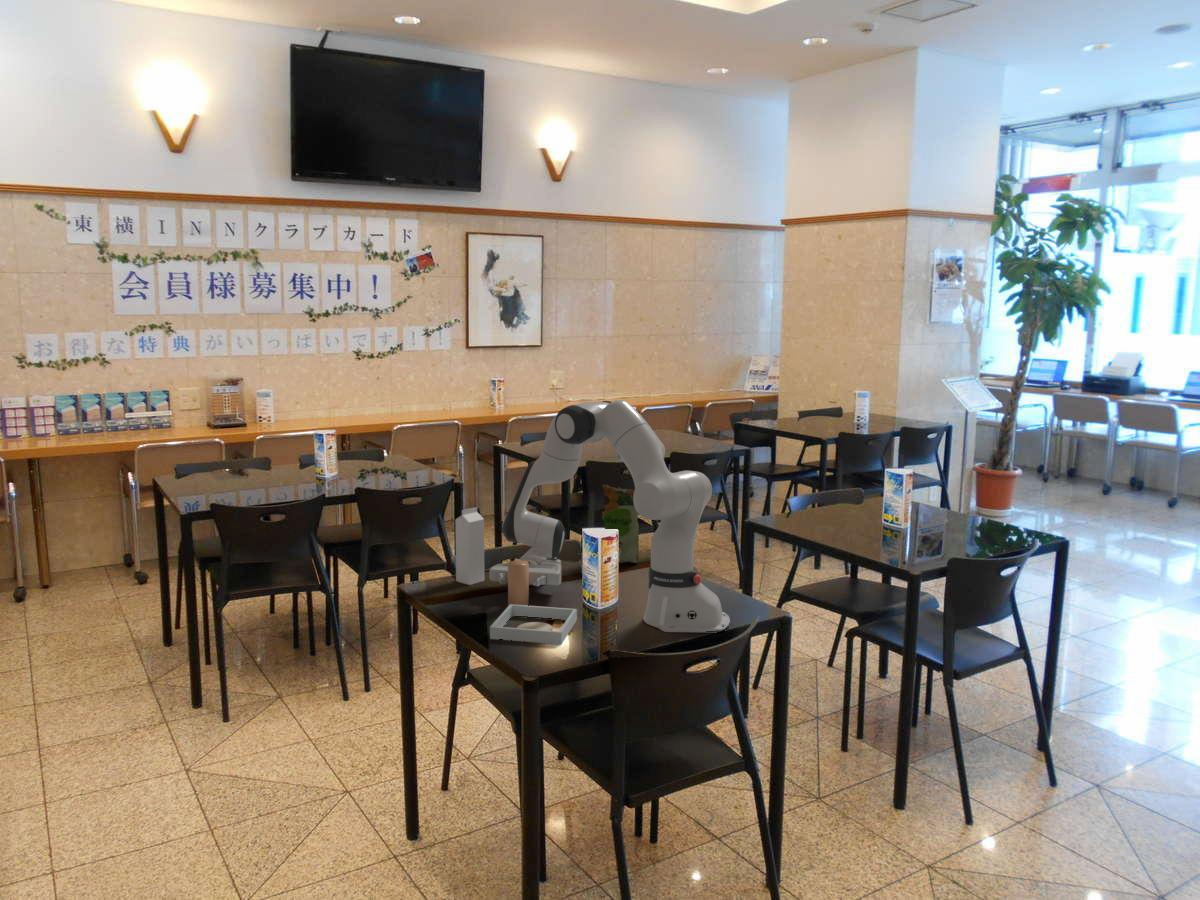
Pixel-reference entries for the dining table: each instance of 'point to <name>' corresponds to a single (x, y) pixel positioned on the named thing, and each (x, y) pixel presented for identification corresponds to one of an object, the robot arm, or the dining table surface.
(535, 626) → the coaster
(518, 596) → the canister
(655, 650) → the dining table surface
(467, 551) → the milk
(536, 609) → the white square frame
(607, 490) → the pouch
